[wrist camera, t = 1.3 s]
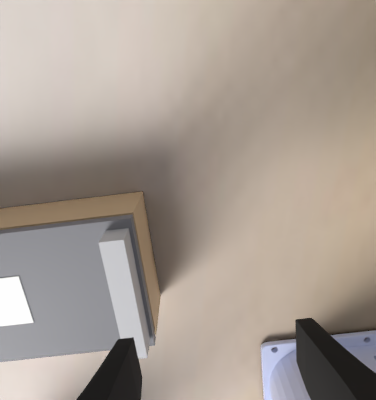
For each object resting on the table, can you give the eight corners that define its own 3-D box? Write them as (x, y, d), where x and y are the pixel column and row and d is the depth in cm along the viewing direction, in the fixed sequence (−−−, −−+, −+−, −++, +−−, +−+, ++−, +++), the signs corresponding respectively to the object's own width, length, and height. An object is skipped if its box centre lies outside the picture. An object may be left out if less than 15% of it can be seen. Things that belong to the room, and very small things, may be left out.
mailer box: (142, 191, 21) (133, 212, 17) (160, 295, 23) (155, 334, 19) (-66, 216, 21) (-121, 242, 17) (-27, 316, 23) (-67, 358, 20)
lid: (132, 214, 17) (125, 229, 15) (155, 337, 19) (152, 364, 17) (-127, 245, 17) (-166, 263, 15) (-71, 362, 19) (-99, 391, 17)
